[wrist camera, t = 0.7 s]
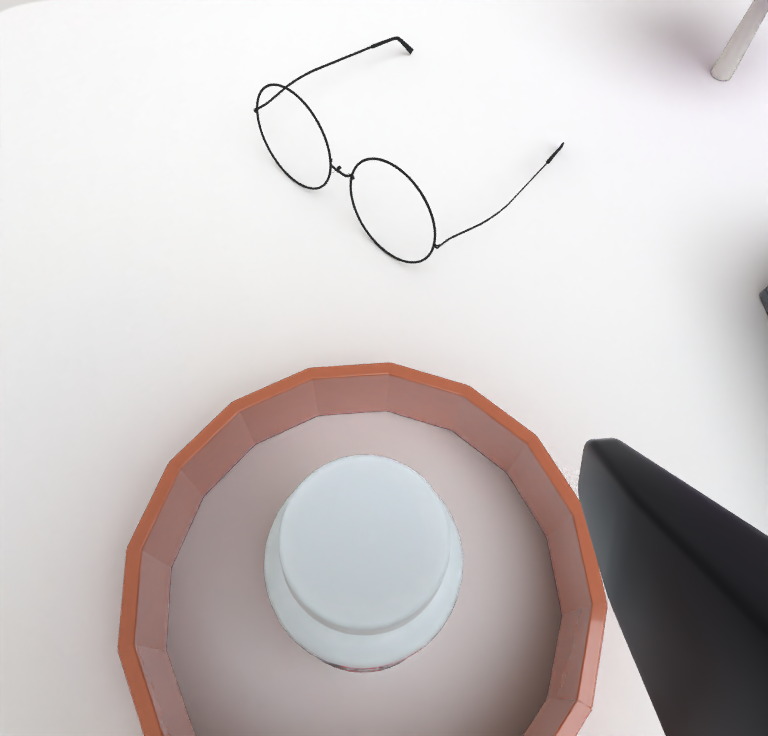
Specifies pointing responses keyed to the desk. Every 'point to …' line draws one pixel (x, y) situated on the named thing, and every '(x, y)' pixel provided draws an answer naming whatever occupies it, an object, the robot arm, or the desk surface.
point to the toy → (740, 41)
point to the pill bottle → (363, 563)
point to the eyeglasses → (368, 158)
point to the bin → (765, 298)
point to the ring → (340, 396)
